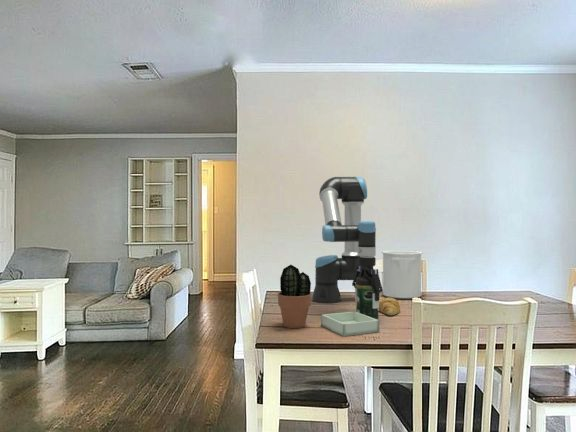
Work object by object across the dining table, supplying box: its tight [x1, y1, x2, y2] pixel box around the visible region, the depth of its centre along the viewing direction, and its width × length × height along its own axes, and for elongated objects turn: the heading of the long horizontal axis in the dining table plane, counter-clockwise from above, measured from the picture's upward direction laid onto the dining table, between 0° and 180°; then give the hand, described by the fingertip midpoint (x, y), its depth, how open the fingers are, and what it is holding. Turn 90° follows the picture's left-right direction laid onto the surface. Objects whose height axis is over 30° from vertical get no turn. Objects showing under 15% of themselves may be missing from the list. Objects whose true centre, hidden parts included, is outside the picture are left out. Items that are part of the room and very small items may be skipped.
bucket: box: [381, 249, 423, 301], centre depth 257 cm, size 26×22×24 cm
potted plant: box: [277, 264, 312, 329], centre depth 192 cm, size 14×14×25 cm
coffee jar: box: [355, 276, 379, 320], centre depth 204 cm, size 10×8×19 cm
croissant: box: [378, 297, 401, 316], centre depth 218 cm, size 21×10×8 cm, turn 171°
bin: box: [320, 310, 380, 337], centre depth 187 cm, size 18×16×4 cm
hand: (366, 305), depth 204 cm, fingers open, 13 cm apart
